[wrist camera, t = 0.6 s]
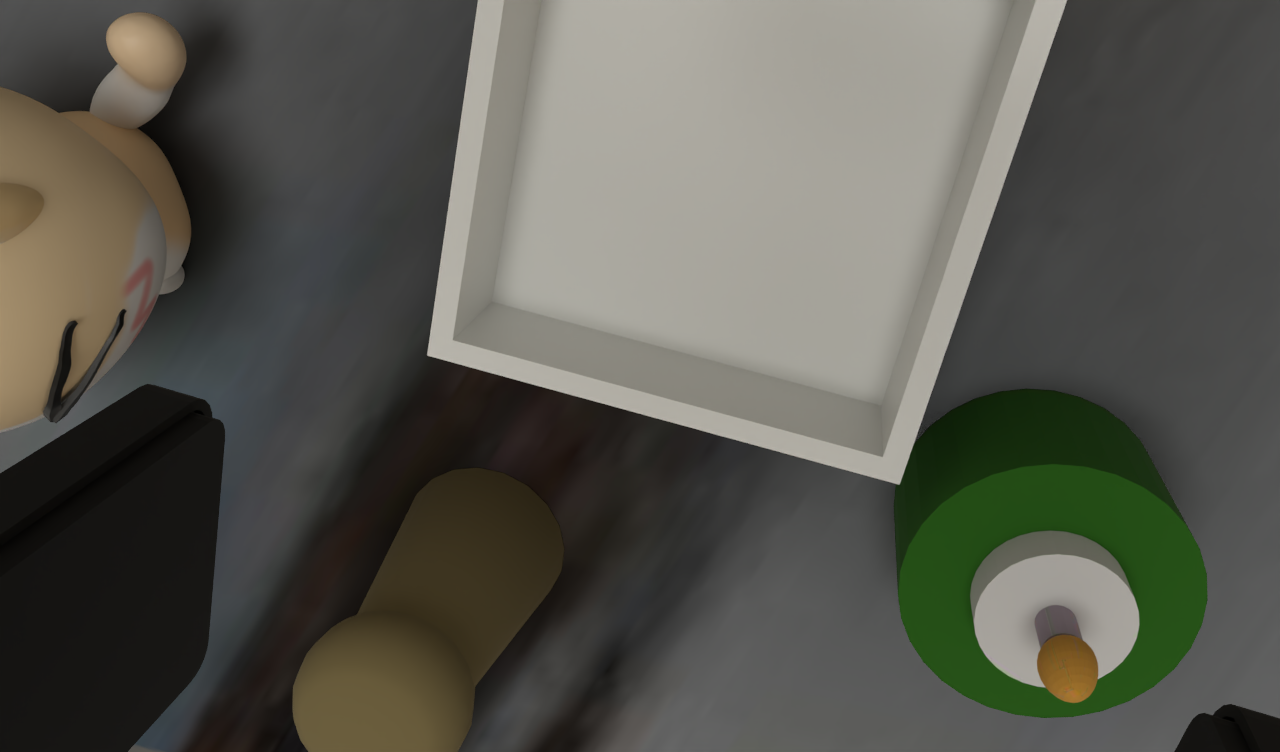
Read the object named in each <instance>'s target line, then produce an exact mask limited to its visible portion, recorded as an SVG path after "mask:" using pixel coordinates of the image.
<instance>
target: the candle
mask: <svg viewBox="0 0 1280 752" xmlns="http://www.w3.org/2000/svg"><path fill="white" fill-rule="evenodd" d="M894 520H895V541H896V561H897V582H898V597H899V605H900V612H901V619H902V621H903V624H904V627H905V629H906V632H907V635H908V637H909V640H910V642H911V643H912V645H913V646H914V648H915V650H916V651H917V653H918V654H919V656H920V657H921V659H922V660H923V662H924V663H925V664H926V665H927V666H928V667H929V668H930V669H931V670H932V671H933V672H934V673H935V674H936V675H937V676H938V677H939V678H940V679H941V680H942V681H943V682H945V683H946V684H948V685H949V686H951V687H952V688H953V689H955V690H956V691H958V692H959V693H961V694H962V695H964V696H966V697H968V698H970V699H972V700H974V701H977V702H979V703H981V704H983V705H985V706H987V707H990V708H994V709H997V710H1001V711H1005V712H1008V713H1012V714H1015V715H1024V716H1032V717H1041V718H1053V717H1074V716H1079V715H1085V714H1090V713H1095V712H1100V711H1103V710H1106V709H1109V708H1111V707H1114V706H1117V705H1120V704H1122V703H1125V702H1128V701H1130V700H1132V699H1133V698H1135V697H1137V696H1138V695H1140V694H1142V693H1144V692H1145V691H1147V690H1149V689H1151V688H1152V687H1154V686H1155V685H1156V684H1157V683H1158V682H1160V681H1161V680H1162V679H1163V678H1164V677H1165V676H1167V675H1168V674H1169V673H1170V672H1171V671H1172V670H1174V669H1175V667H1176V666H1177V665H1178V664H1179V662H1180V661H1181V660H1182V658H1183V657H1184V656H1185V655H1186V653H1187V652H1188V651H1189V649H1190V648H1191V646H1192V644H1193V642H1194V640H1195V638H1196V636H1197V634H1198V632H1199V630H1200V628H1201V625H1202V622H1203V617H1204V613H1205V608H1206V604H1207V573H1206V570H1205V566H1204V563H1203V559H1202V556H1201V552H1200V549H1199V547H1198V545H1197V543H1196V541H1195V539H1194V538H1193V536H1192V534H1191V532H1190V530H1189V528H1188V527H1187V525H1186V523H1185V521H1184V519H1183V517H1182V515H1181V514H1180V512H1179V510H1178V508H1177V506H1176V504H1175V503H1174V501H1173V499H1172V497H1171V495H1170V493H1169V491H1168V490H1167V488H1166V486H1165V484H1164V482H1163V480H1162V479H1161V477H1160V475H1159V473H1158V471H1157V469H1156V468H1155V466H1154V464H1153V462H1152V460H1151V458H1150V457H1149V455H1148V453H1147V451H1146V450H1145V448H1144V446H1143V444H1142V442H1141V441H1140V440H1139V439H1138V438H1137V436H1136V435H1135V434H1134V433H1133V432H1132V431H1131V430H1130V429H1129V428H1128V426H1127V425H1126V424H1125V423H1124V422H1122V421H1121V420H1120V419H1118V418H1117V417H1115V416H1114V415H1113V414H1111V413H1110V412H1109V411H1107V410H1106V409H1104V408H1103V407H1100V406H1098V405H1096V404H1094V403H1092V402H1089V401H1087V400H1085V399H1083V398H1081V397H1077V396H1073V395H1069V394H1065V393H1062V392H1058V391H1052V390H1038V389H1020V390H1010V391H1001V392H997V393H993V394H990V395H986V396H983V397H979V398H976V399H973V400H971V401H969V402H967V403H965V404H963V405H961V406H959V407H957V408H955V409H953V410H951V411H950V412H948V413H947V414H945V415H944V416H943V417H941V418H940V419H939V420H937V421H936V422H935V423H933V424H932V425H931V426H930V427H929V428H928V429H927V430H926V431H925V432H924V434H923V435H922V436H921V437H920V438H919V439H918V440H917V441H916V442H915V443H914V445H913V448H912V451H911V453H910V456H909V459H908V462H907V465H906V468H905V471H904V474H903V477H902V479H901V482H900V485H898V484H896V489H895V499H894Z"/></svg>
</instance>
